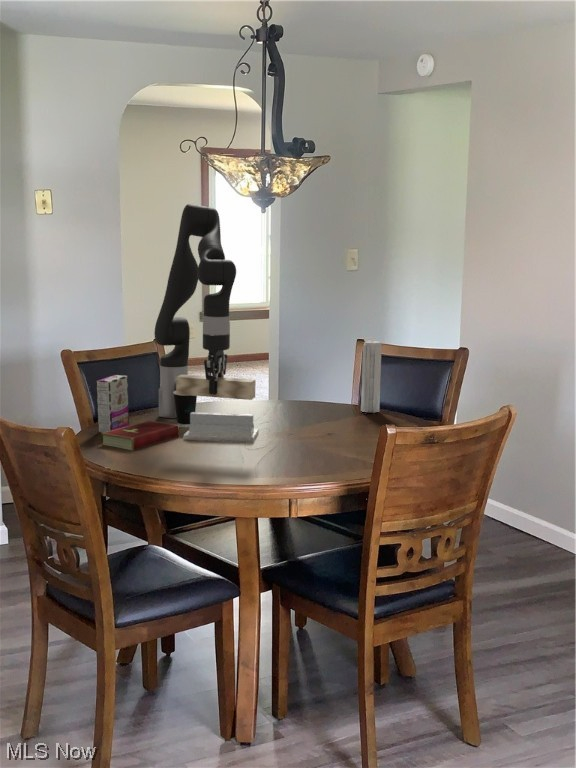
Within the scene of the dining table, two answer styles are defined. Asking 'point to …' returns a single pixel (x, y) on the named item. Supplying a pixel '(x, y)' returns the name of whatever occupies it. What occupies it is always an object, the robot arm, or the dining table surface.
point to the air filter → (371, 376)
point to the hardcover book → (140, 435)
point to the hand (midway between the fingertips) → (215, 392)
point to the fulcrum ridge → (221, 427)
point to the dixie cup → (184, 408)
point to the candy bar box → (112, 403)
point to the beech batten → (224, 387)
